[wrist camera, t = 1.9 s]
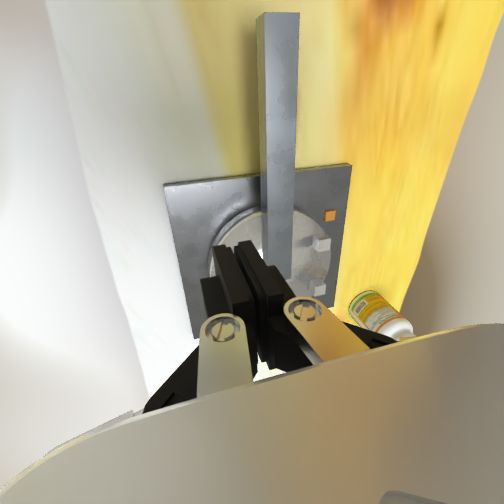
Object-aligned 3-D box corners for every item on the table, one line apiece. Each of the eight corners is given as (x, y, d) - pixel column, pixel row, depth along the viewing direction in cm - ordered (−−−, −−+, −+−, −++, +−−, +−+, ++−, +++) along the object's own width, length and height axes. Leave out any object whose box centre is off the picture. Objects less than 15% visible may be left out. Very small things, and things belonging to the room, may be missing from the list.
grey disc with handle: (173, 25, 21) (175, 11, 17) (341, 25, 24) (373, 13, 20) (214, 317, 36) (220, 343, 32) (316, 295, 39) (333, 316, 35)
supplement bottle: (377, 311, 46) (424, 359, 38) (347, 321, 45) (389, 372, 37) (380, 285, 43) (432, 330, 35) (348, 295, 42) (393, 344, 34)
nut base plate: (163, 184, 27) (163, 188, 26) (347, 163, 32) (353, 165, 31) (193, 333, 37) (194, 340, 36) (330, 302, 42) (334, 307, 41)
